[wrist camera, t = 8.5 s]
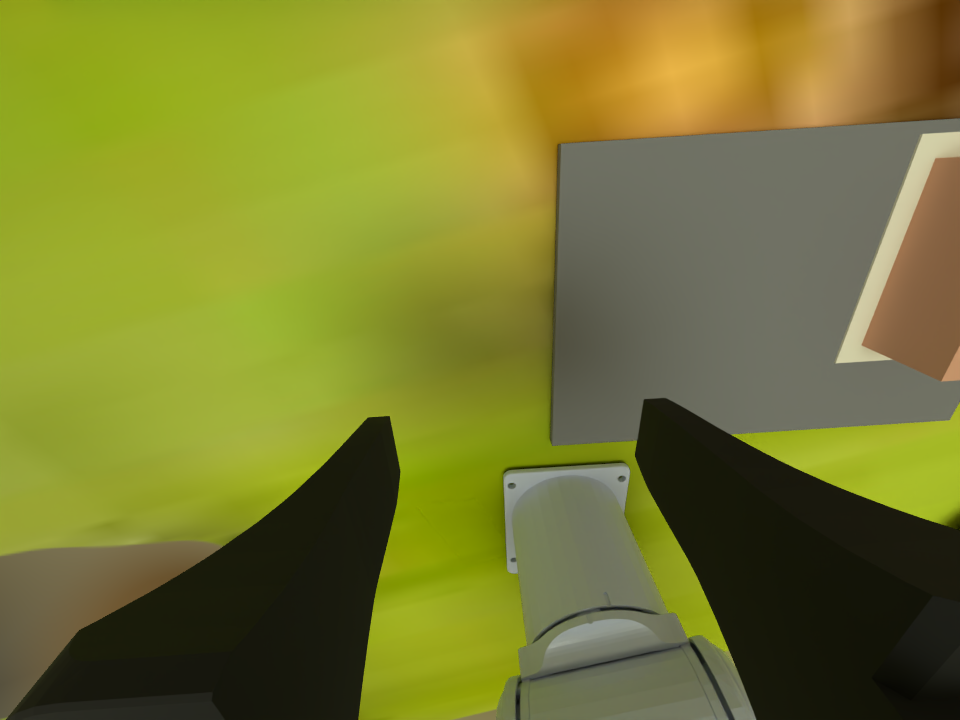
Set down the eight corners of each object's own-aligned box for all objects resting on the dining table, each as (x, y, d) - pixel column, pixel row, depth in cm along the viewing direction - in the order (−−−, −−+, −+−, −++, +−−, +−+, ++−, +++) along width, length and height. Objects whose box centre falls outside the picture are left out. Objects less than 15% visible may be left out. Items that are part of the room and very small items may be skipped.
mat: (938, 414, 24) (951, 421, 24) (550, 439, 24) (552, 446, 24) (1104, 109, 17) (1128, 107, 17) (558, 144, 17) (561, 143, 17)
